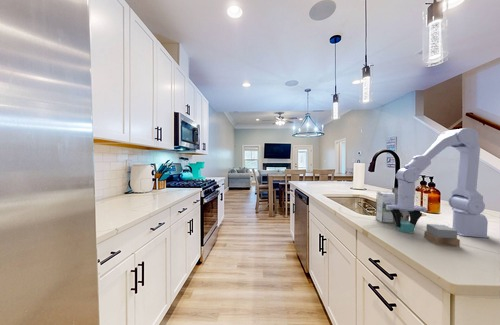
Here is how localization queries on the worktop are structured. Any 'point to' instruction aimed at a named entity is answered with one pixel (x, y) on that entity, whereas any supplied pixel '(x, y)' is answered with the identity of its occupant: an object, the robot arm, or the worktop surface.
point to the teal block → (406, 227)
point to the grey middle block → (442, 231)
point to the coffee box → (404, 213)
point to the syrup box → (384, 206)
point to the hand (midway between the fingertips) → (405, 227)
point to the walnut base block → (442, 240)
